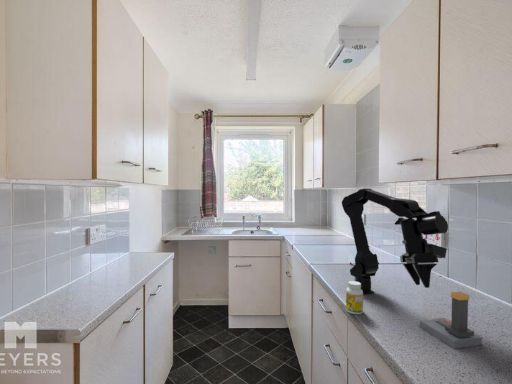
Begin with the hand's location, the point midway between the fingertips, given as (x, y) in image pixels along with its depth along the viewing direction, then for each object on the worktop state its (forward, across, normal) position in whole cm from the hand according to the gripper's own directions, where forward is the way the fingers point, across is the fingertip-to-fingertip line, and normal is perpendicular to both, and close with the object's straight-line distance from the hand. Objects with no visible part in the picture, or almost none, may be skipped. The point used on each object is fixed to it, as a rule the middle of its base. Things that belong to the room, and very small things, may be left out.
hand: (422, 286), depth 84 cm
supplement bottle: (+8, +2, +22) cm, 23 cm away
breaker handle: (+11, -9, -4) cm, 15 cm away
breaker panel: (+13, -6, -3) cm, 14 cm away
